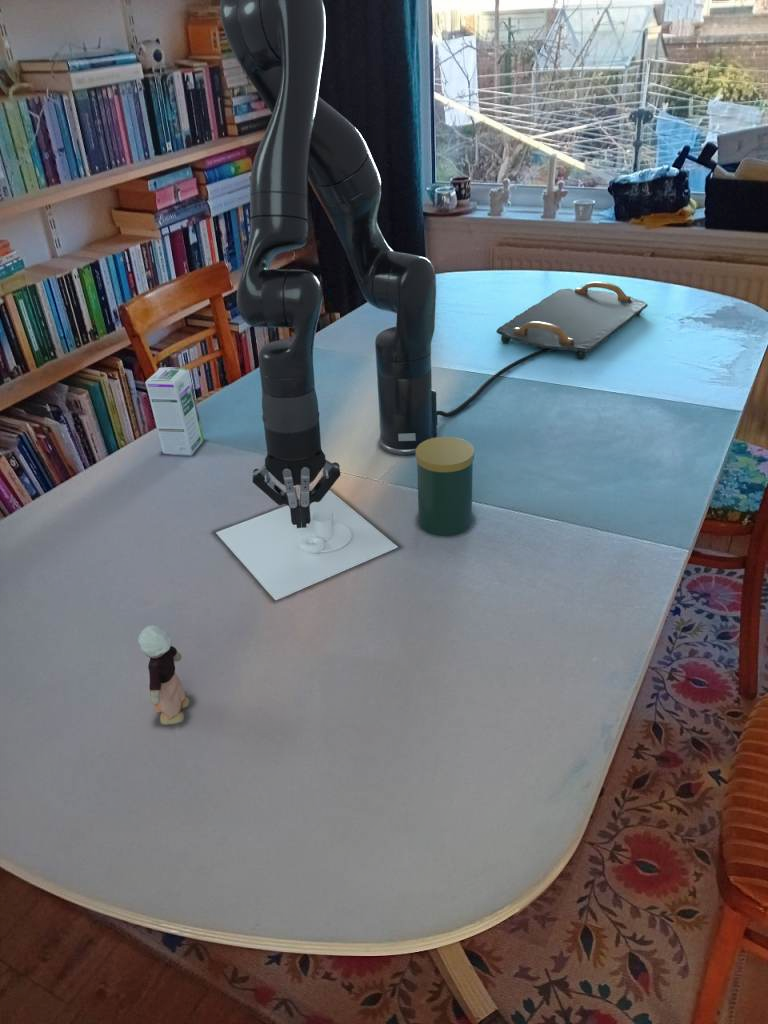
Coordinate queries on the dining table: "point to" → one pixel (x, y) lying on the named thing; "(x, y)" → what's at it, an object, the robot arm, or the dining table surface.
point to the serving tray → (573, 319)
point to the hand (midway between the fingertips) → (301, 525)
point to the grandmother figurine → (163, 675)
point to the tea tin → (445, 485)
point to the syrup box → (175, 410)
